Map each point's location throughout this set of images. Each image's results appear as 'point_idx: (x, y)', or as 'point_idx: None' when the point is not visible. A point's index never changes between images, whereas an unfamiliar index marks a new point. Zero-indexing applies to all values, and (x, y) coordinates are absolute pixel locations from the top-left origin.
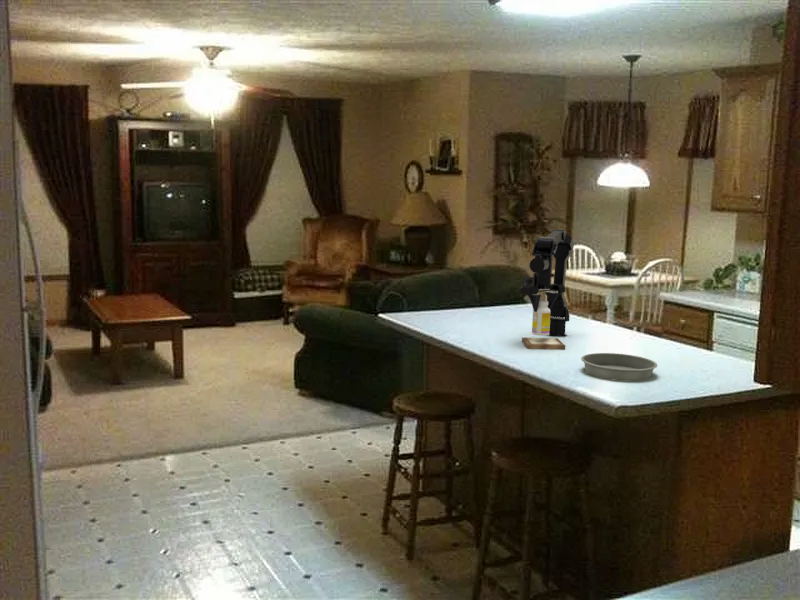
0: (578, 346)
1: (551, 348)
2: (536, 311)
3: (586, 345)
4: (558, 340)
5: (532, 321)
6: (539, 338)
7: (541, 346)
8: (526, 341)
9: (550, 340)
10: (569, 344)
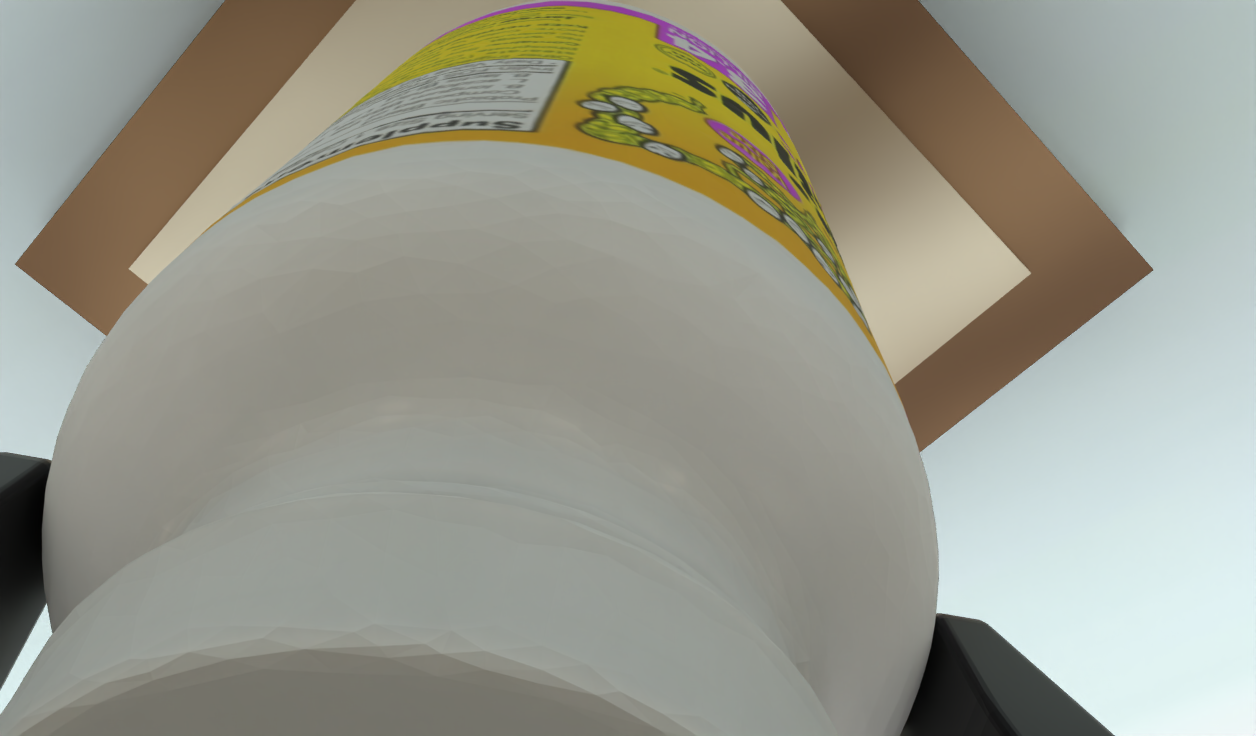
0: (1039, 657)
1: None
2: (28, 592)
3: (1229, 693)
4: (933, 407)
5: (344, 113)
6: (751, 49)
7: None
8: (228, 34)
9: None
10: (1097, 485)
